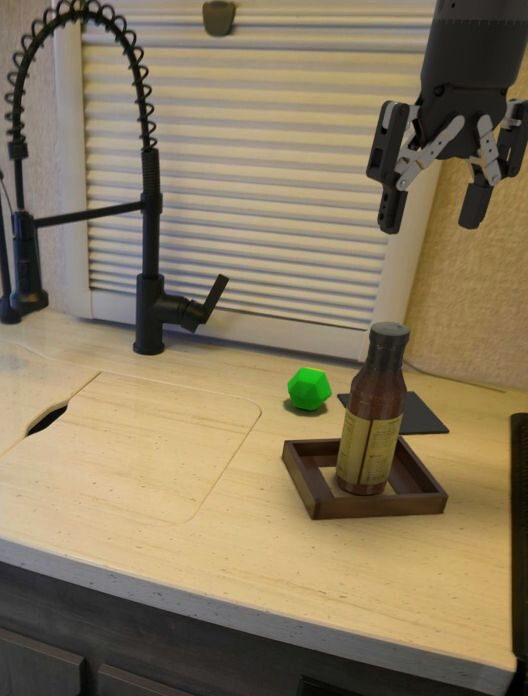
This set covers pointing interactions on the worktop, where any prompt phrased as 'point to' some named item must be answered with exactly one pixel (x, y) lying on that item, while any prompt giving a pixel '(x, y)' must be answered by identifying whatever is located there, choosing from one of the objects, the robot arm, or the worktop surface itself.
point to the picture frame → (405, 477)
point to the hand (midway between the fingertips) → (428, 230)
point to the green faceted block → (309, 388)
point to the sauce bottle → (374, 413)
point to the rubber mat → (413, 416)
